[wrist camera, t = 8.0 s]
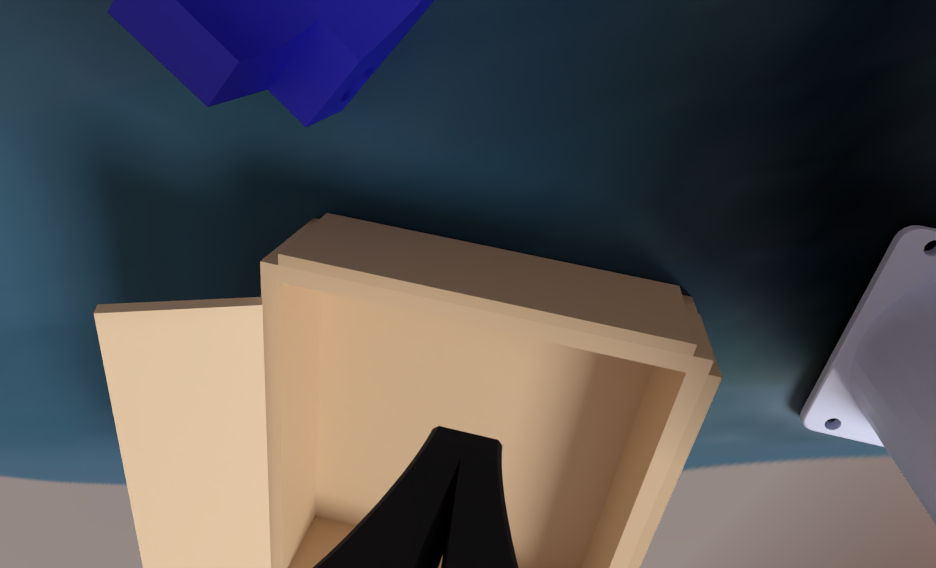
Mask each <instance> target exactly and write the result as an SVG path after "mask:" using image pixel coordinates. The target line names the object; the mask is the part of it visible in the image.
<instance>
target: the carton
mask: <svg viewBox="0 0 936 568" xmlns="http://www.w3.org/2000/svg"><path fill="white" fill-rule="evenodd" d="M260 274H261V297H262V309H263V340H264V370H265V401H266V431H267V462H268V492H269V523H270V553H271V568H313V567H314V566H315V565H316V564H317V563H318V562H319V561H321V560H322V559H323V558H324V557H325V556H326V555H327V554H328V553H329V552H330V551H331V550H332V549H333V548H335V547H336V546H337V545H338V544H339V543H340V542H341V541H342V540H343V539H344V538H345V537H346V536H347V535H348V534H349V533H350V532H351V531H352V530H353V529H354V528H355V526H356V525H357V524H358V523H359V522H360V521H361V520H362V519H363V518H364V517H365V516H366V515H367V514H368V513H369V512H370V511H371V510H372V508H373V507H374V506H375V505H376V504H377V503H378V502H379V501H380V500H381V498H382V497H383V496H384V495H385V494H386V493H387V491H388V490H389V489H390V488H391V487H392V485H393V484H394V483H395V482H396V480H397V479H398V478H399V477H400V476H401V474H402V473H403V472H404V471H405V469H406V468H407V467H408V465H409V464H410V463H411V461H412V460H413V459H414V457H415V456H416V455H417V453H418V452H419V450H420V449H421V447H422V446H423V444H424V443H425V441H426V440H427V438H428V436H429V434H430V433H431V431H432V429H433V428H435V427H437V426H442V427H446V428H450V429H454V430H459V431H463V432H467V433H471V434H476V435H480V436H484V437H488V438H493V439H497V440H499V442H500V443H501V444H502V477H503V487H504V496H505V503H506V510H507V515H508V521H509V526H510V531H511V537H512V542H513V546H514V551H515V555H516V559H517V563H518V567H519V568H640V565H641V563H642V561H643V559H644V556H645V554H646V552H647V549H648V547H649V545H650V542H651V540H652V538H653V535H654V533H655V531H656V529H657V526H658V524H659V522H660V519H661V517H662V515H663V513H664V510H665V508H666V506H667V503H668V501H669V499H670V496H671V494H672V492H673V490H674V487H675V485H676V482H677V480H678V478H679V475H680V473H681V471H682V469H683V466H684V464H685V462H686V460H687V457H688V455H689V453H690V450H691V448H692V446H693V443H694V441H695V439H696V437H697V434H698V432H699V430H700V427H701V425H702V423H703V420H704V418H705V416H706V413H707V411H708V409H709V407H710V404H711V402H712V400H713V397H714V395H715V393H716V390H717V388H718V386H719V384H720V381H721V379H722V376H721V373H720V370H719V367H718V365H717V362H716V359H715V356H714V353H713V350H712V347H711V344H710V341H709V338H708V335H707V333H706V330H705V327H704V324H703V321H702V318H701V315H700V314H698V312H697V309H696V306H695V303H694V300H693V297H690V296H686V295H682V293H681V290H680V286H677V285H673V284H668V283H663V282H658V281H653V280H648V279H644V278H639V277H634V276H629V275H624V274H620V273H615V272H610V271H605V270H600V269H595V268H591V267H586V266H581V265H576V264H571V263H567V262H562V261H557V260H552V259H547V258H542V257H538V256H533V255H528V254H523V253H518V252H514V251H509V250H504V249H499V248H494V247H489V246H485V245H480V244H475V243H470V242H465V241H461V240H456V239H451V238H446V237H441V236H437V235H432V234H427V233H422V232H417V231H412V230H408V229H403V228H398V227H393V226H388V225H384V224H379V223H374V222H369V221H364V220H359V219H355V218H350V217H345V216H340V215H335V214H331V213H326V214H325V215H324V216H323V217H321V218H320V219H317V218H313V219H312V220H310V221H309V222H308V223H307V224H306V225H304V226H303V227H302V228H301V229H299V230H298V231H297V232H296V233H294V234H293V235H292V236H291V237H289V238H288V239H287V240H286V241H285V242H283V243H282V244H281V245H280V246H278V247H277V248H276V249H275V250H273V251H272V252H271V253H270V254H268V255H267V256H266V257H265V258H264V259H262V260H261V261H260ZM442 558H443V555H442ZM442 558H441V561H440V564H439V567H438V568H441V564H442Z"/></svg>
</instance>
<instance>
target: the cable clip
mask: <svg viewBox="0 0 936 568" xmlns="http://www.w3.org/2000/svg"><path fill="white" fill-rule="evenodd" d="M433 1H434V0H114V1H113V3H112V5H111V6H110V8H109V10H108V13H109V14H110V15H111V16H112V17H113V18H114V19H115V20H116V21H117V22H118V23H119V24H121V25H122V26H123V27H124V28H125V29H126V30H127V31H128V32H129V33H130V34H131V35H132V36H133V37H134V38H135V39H136V40H137V41H138V42H140V43H141V44H142V45H143V46H144V47H145V48H146V49H147V50H148V51H149V52H150V53H151V54H152V55H153V56H154V57H155V58H156V59H157V60H159V61H160V62H161V63H162V64H163V65H164V66H165V67H166V68H167V69H168V70H169V71H170V72H171V73H172V74H173V75H174V76H175V77H176V78H178V79H179V80H180V81H181V82H182V83H183V84H184V85H185V86H186V87H187V88H188V89H189V90H190V91H191V92H192V93H193V94H194V95H195V96H197V97H198V98H199V99H200V100H201V101H202V102H203V103H204V104H205V105H206V106H207V107H209V106H213V105H216V104H220V103H223V102H226V101H230V100H233V99H236V98H240V97H243V96H246V95H250V94H253V93H256V92H260V91H263V90H266V89H268V90H269V91H270V92H271V93H272V94H273V95H274V96H275V97H276V98H277V99H278V100H279V101H280V102H281V103H282V104H283V105H284V106H285V107H286V108H287V109H288V110H289V111H290V112H291V113H292V114H293V115H294V116H295V117H296V118H297V119H298V120H299V121H300V122H301V123H302V124H303V125H304V126H305V127H308V126H310V125H312V124H314V123H316V122H318V121H320V120H323V119H325V118H327V117H329V116H331V115H333V114H335V113H337V112H339V111H342V109H343V108H344V107H345V106H346V105H347V104H348V102H349V101H350V100H351V99H352V98H353V96H354V95H355V94H356V93H357V92H358V90H359V89H360V88H361V87H362V86H363V84H364V83H365V82H366V81H367V80H368V79H369V77H370V76H371V75H372V74H373V73H374V71H375V70H376V69H377V68H378V67H379V65H380V64H381V63H382V62H383V61H384V59H385V58H386V57H387V56H388V55H389V53H390V52H391V51H392V50H393V49H394V48H395V46H396V45H397V44H398V43H399V42H400V40H401V39H402V38H403V37H404V36H405V34H406V33H407V32H408V31H409V30H410V28H411V27H412V26H413V25H414V24H415V23H416V21H417V20H418V19H419V18H420V17H421V15H422V14H423V13H424V12H425V11H426V9H427V8H428V7H429V6H430V5H431V3H432V2H433Z"/></svg>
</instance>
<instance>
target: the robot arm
mask: <svg viewBox="0 0 936 568" xmlns="http://www.w3.org/2000/svg"><path fill="white" fill-rule="evenodd" d="M933 240H936V229H935V228H930V227H924V226H918V225H912V226H908V227H905V228H903V229H902V230H900V231H899V232H898V233H897V234H896V235H895V236H894V238H893V240H892V242H891V244H890V246H889V247H888V249H887V251H886V253H885V255H884V257H883V259H882V261H881V262H880V264H879V266H878V268H877V270H876V272H875V274H874V276H873V277H872V279H871V281H870V283H869V285H868V287H867V289H866V291H865V292H864V294H863V296H862V298H861V300H860V302H859V304H858V306H857V307H856V309H855V311H854V313H853V315H852V317H851V319H850V321H849V322H848V324H847V326H846V328H845V330H844V332H843V334H842V336H841V337H840V339H839V341H838V343H837V345H836V347H835V349H834V351H833V352H832V354H831V356H830V358H829V360H828V362H827V364H826V366H825V367H824V369H823V371H822V373H821V375H820V377H819V379H818V381H817V382H816V384H815V386H814V388H813V390H812V392H811V394H810V396H809V397H808V399H807V401H806V403H805V405H804V407H803V409H802V411H801V414H800V418H801V420H802V422H803V424H804V426H805V427H806V428H807V429H810V430H812V431H817V432H821V433H825V434H830V435H834V436H839V437H843V438H847V439H852V440H856V441H861V442H865V443H869V444H874V445H878V446H883V447H885V448H886V450H887V451H888V453H889V454H890V456H891V458H892V459H893V461H894V462H895V464H896V465H897V467H898V468H899V470H900V471H901V473H902V474H903V476H904V477H905V479H906V480H907V482H908V484H909V485H910V487H911V488H912V490H913V491H914V493H915V494H916V496H917V497H918V499H919V501H920V502H921V504H922V505H923V507H924V508H925V510H926V511H927V513H928V514H929V516H930V517H931V519H932V520H933V522H934V524H935V525H936V246H935V247H934V248H933V249H931V250H929V251H924V247H925V245H926V244H927V243H928V242H930V241H933ZM831 418H836V420H835V421H833V422H831V423H825V422H826V421H827V420H829V419H831ZM442 555H443V558H442ZM441 558H442V564H441V568H519V567H518V563H517V559H516V555H515V551H514V546H513V542H512V537H511V531H510V526H509V521H508V515H507V510H506V503H505V496H504V487H503V477H502V444H501V443H500V442H499V440H497V439H493V438H488V437H484V436H480V435H476V434H471V433H467V432H463V431H459V430H454V429H450V428H446V427H442V426H437V427H435V428H433V429H432V431H431V433H430V434H429V436H428V438H427V440H426V441H425V443H424V444H423V446H422V447H421V449H420V450H419V452H418V453H417V455H416V456H415V457H414V459H413V460H412V461H411V463H410V464H409V465H408V467H407V468H406V469H405V471H404V472H403V473H402V474H401V476H400V477H399V478H398V479H397V480H396V482H395V483H394V484H393V485H392V487H391V488H390V489H389V490H388V491H387V493H386V494H385V495H384V496H383V497H382V498H381V500H380V501H379V502H378V503H377V504H376V505H375V506H374V507H373V508H372V510H371V511H370V512H369V513H368V514H367V515H366V516H365V517H364V518H363V519H362V520H361V521H360V522H359V523H358V524H357V525H356V526H355V528H354V529H353V530H352V531H351V532H350V533H349V534H348V535H347V536H346V537H345V538H344V539H343V540H342V541H341V542H340V543H339V544H338V545H337V546H336V547H335V548H333V549H332V550H331V551H330V552H329V553H328V554H327V555H326V556H325V557H324V558H323V559H322V560H321V561H319V562H318V563H317V564H316V565H315V566H314V567H313V568H438V567H439V564H440V561H441Z"/></svg>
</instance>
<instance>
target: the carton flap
mask: <svg viewBox="0 0 936 568" xmlns="http://www.w3.org/2000/svg"><path fill="white" fill-rule="evenodd" d="M94 318H95V323H96V328H97V333H98V338H99V343H100V348H101V354H102V359H103V364H104V369H105V374H106V379H107V384H108V390H109V395H110V400H111V405H112V410H113V415H114V420H115V425H116V431H117V436H118V441H119V446H120V451H121V456H122V461H123V467H124V472H125V477H126V482H127V487H128V492H129V497H130V503H131V508H132V513H133V518H134V523H135V528H136V533H137V539H138V544H139V549H140V554H141V559H142V564H143V568H271V553H270V523H269V492H268V462H267V431H266V401H265V370H264V340H263V309H262V297H249V298H227V299H205V300H183V301H161V302H139V303H117V304H97V306H96V309H95V311H94Z"/></svg>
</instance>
